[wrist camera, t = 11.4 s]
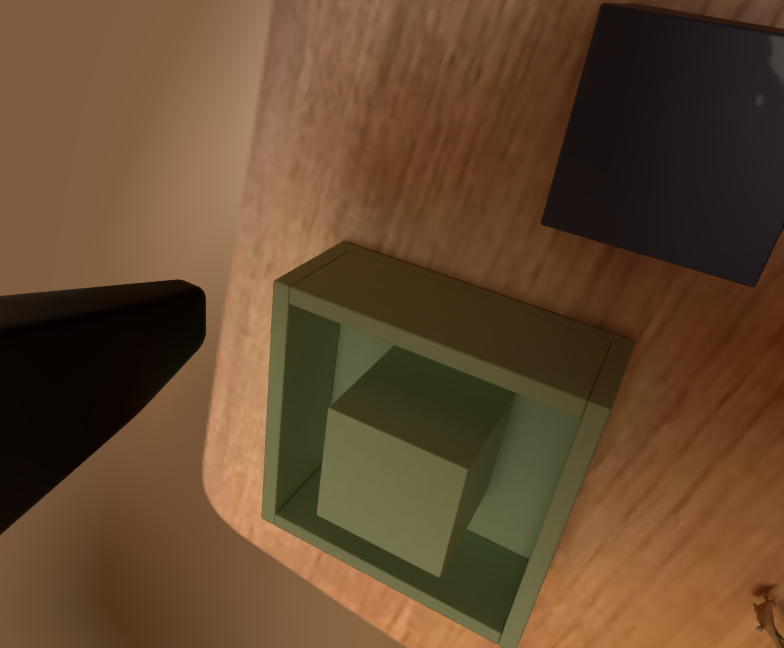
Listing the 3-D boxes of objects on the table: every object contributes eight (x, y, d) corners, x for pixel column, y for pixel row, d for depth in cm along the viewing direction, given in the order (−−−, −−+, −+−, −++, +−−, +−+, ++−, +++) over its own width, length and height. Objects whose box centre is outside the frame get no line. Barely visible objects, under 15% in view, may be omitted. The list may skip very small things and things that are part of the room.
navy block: (582, 181, 18) (539, 225, 14) (635, 3, 16) (600, 2, 12) (753, 227, 16) (754, 288, 13) (839, 38, 14) (869, 49, 11)
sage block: (379, 440, 25) (315, 515, 21) (395, 343, 22) (327, 407, 19) (487, 490, 23) (439, 578, 20) (517, 390, 21) (468, 470, 17)
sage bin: (319, 457, 27) (260, 518, 24) (342, 240, 22) (272, 280, 19) (546, 567, 24) (514, 654, 21) (635, 340, 19) (611, 410, 16)
